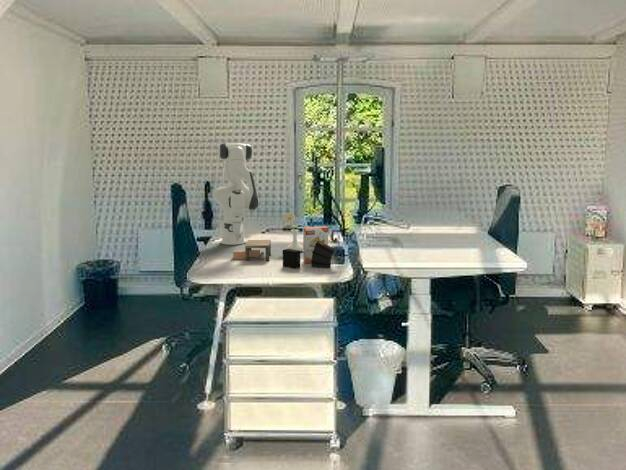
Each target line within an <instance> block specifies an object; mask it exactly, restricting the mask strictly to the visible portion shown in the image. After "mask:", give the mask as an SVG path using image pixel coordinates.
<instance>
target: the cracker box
mask: <svg viewBox="0 0 626 470" xmlns="http://www.w3.org/2000/svg"><path fill="white" fill-rule="evenodd" d="M302 230H303V235H302V236H303V237H302V241H303V242H302V243H303V244H302V246H303V252H302V253H303V255H302V256H303V258H302V259H303V263H305V264H312V263H311V261H312V255H313V253H312V252H313V251H314V247H315V244H316V243H317V241H320V242H322V243H324V244H326V245H328V246H329V227H328V226H326V225H325V226H306V227H303V229H302Z"/></svg>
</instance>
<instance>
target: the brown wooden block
mask: <svg viewBox="0 0 626 470" xmlns="http://www.w3.org/2000/svg"><path fill="white" fill-rule="evenodd" d="M260 254H261V249H251V250H249V257H260ZM232 259H233V260H246V250H245V249H234V250H233V251H232Z"/></svg>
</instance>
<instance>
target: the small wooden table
mask: <svg viewBox="0 0 626 470" xmlns="http://www.w3.org/2000/svg"><path fill="white" fill-rule="evenodd" d="M271 242H272V241H271V239H248V240H247V243H245V245H244V250H246V259H245V262H249V261H255V260H256V261H257V260H260V261H261V260H264V257H265V261H266V262H269V261H270V256H271V255H272V250H271V248H272V247H271V246H272V244H271ZM252 249H265V251H260V257H249V250H252Z"/></svg>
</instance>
